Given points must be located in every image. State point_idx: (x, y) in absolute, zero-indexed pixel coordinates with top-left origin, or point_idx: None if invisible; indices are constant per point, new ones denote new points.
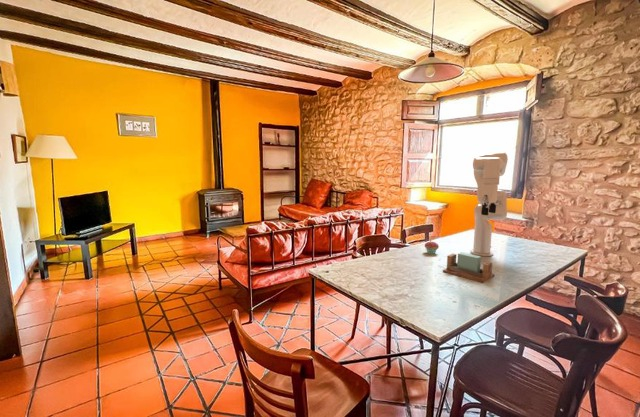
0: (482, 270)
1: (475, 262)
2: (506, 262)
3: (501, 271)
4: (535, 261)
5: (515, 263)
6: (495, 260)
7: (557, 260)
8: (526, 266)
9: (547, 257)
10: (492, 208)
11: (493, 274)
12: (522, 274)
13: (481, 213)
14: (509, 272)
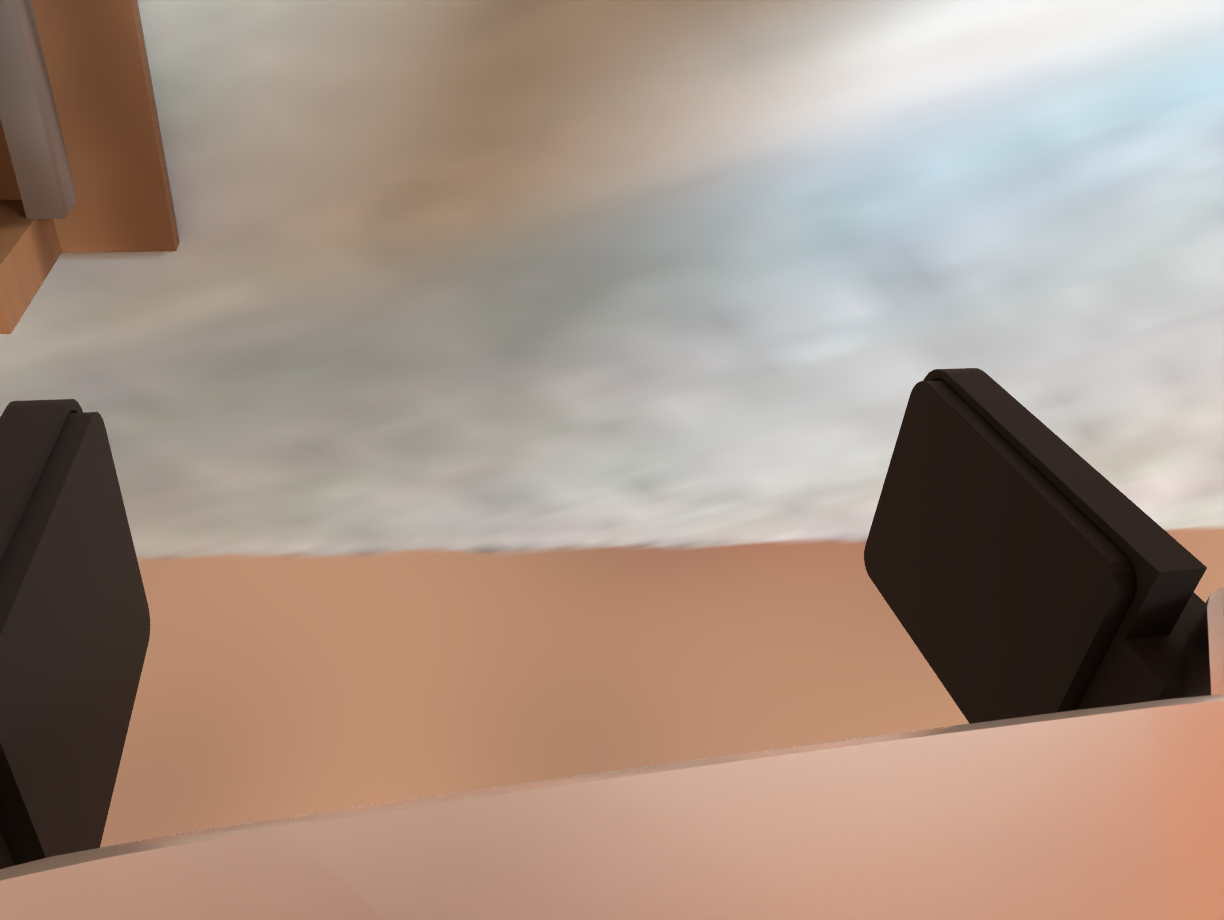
0: (13, 150)
1: None
2: (827, 163)
3: (420, 241)
4: (1028, 359)
5: (845, 248)
6: (838, 28)
7: (1147, 466)
8: (799, 357)
9: (1218, 388)
10: (981, 601)
11: (136, 251)
12: (493, 415)
13: (6, 425)
14: (456, 312)
